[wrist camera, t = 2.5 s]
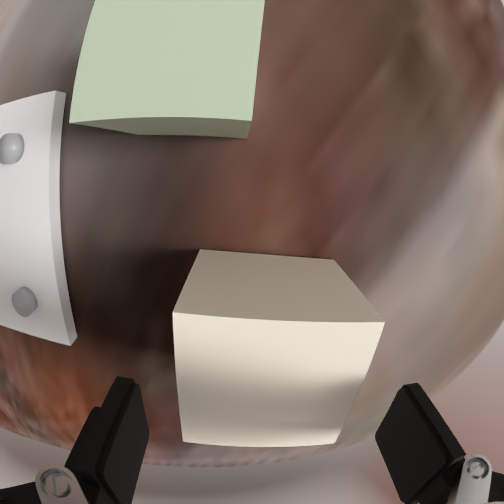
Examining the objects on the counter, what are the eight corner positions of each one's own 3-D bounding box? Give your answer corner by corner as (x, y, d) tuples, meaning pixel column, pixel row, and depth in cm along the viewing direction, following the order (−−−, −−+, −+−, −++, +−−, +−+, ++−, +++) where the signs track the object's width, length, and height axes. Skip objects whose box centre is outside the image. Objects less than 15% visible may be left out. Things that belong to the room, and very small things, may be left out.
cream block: (200, 249, 14) (172, 312, 8) (333, 259, 14) (384, 322, 8) (198, 358, 16) (183, 441, 10) (310, 363, 16) (334, 443, 10)
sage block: (152, 39, 10) (103, -21, 5) (257, 39, 11) (268, -32, 5) (138, 135, 12) (69, 123, 6) (247, 138, 12) (251, 120, 6)
